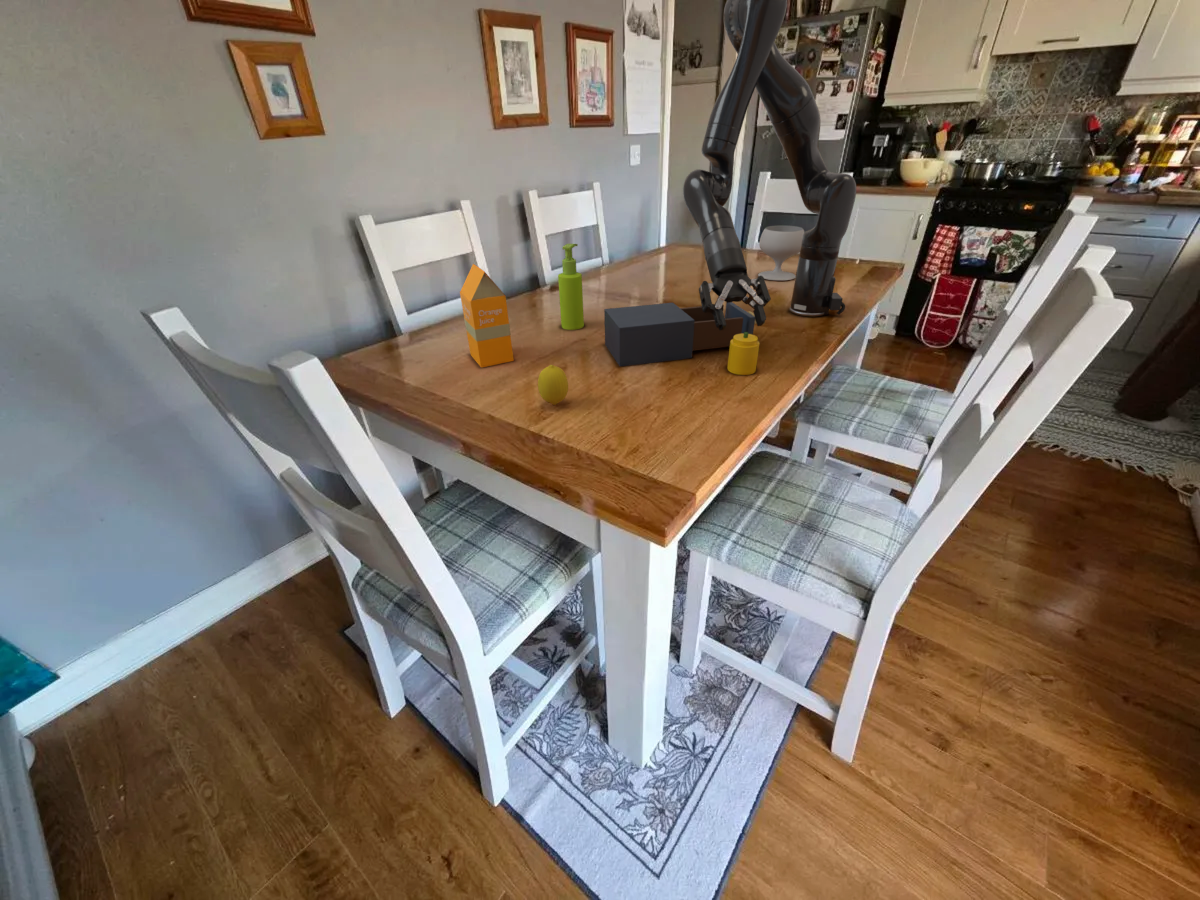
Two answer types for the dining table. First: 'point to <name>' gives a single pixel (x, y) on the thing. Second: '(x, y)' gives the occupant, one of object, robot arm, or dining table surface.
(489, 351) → the orange juice
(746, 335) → the yellow cylinder
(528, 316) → the dining table surface
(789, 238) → the chalice
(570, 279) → the soap dispenser
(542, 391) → the lemon
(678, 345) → the cabinet
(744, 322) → the drawer
